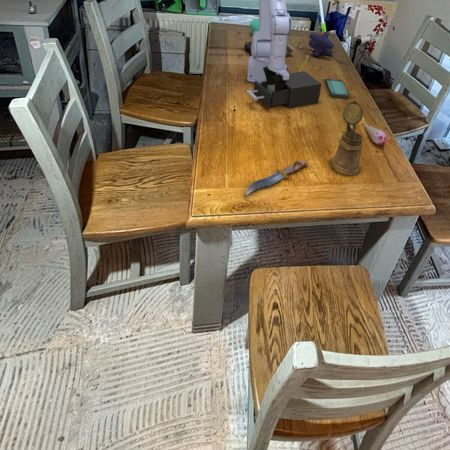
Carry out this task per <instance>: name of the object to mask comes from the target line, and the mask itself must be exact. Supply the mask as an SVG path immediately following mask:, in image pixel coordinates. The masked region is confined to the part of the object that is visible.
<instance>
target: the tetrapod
mask: <svg viewBox="0 0 450 450" xmlns="http://www.w3.org/2000/svg"><path fill="white" fill-rule="evenodd" d="M322 33H323V35H321V34H317V32H310V34H309V39H310V40H309V42H308V46H310V47H311V49H313V53H312V54H313V56H314V57H316V58H319V56H320V55H324V56H329V57H331V56H332V54H333V48H334V47H335V44H334V42H332V41H331V40H330V39H329V37H330V33H329V32H328V31H324V32H322Z"/></svg>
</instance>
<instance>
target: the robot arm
mask: <svg viewBox="0 0 450 450" xmlns="http://www.w3.org/2000/svg"><path fill="white" fill-rule="evenodd" d="M258 7H259V8H258V19H259V31H258V32H257V33H255V34H254V35H253V34H252V36H251V41H252V43H251V52H250V54H251V55H250V56H249V59H248V63H247V79H246V81H247V82H250V83H254V81H258V82H259V83H260V84H261V82H263V81H267V85H274V83H275V91H279V90H282V89H283V87H284V85H285V83H286V82H287V80H289V74H288V73H289V72H288V71H287V68H288V65H287V64H286V56H287V55H286V48H287V44H288V38H289V36H290V35H291V33H292V18H291V16H290V13H289V12H288V10H287V1H286V0H258ZM260 39H264V40H270V41H260Z"/></svg>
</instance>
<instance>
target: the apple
mask: <svg viewBox="0 0 450 450" xmlns="http://www.w3.org/2000/svg"><path fill="white" fill-rule="evenodd" d="M321 30H322V31H324V28H323V26H318V27H317V29H316V33H317V34H321V35H323V33H324V32H321Z"/></svg>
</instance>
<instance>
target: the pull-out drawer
mask: <svg viewBox="0 0 450 450" xmlns="http://www.w3.org/2000/svg"><path fill="white" fill-rule="evenodd" d="M274 84H275V83H274ZM246 94H247V95H248V96H249V97H250V98H251V99H253V100H254V101H255V102H257V101H258V102H259V103H260V104H261V105H262V106H263V107H264V109H266V110H268V109H270V108H271V107H275V106H280V105H281V106H282V105H285V104H287V103H288V102H289V94H290V89H288V88H287V87H286V86H285V85H284V87H283V89H282V90H279V91H273V92H272V99H271V93H270V92H269V91H268V90H267V81H263V82H261V84H260V83H259V82H258V81H254V82H253V90H250V89H247V90H246Z"/></svg>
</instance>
